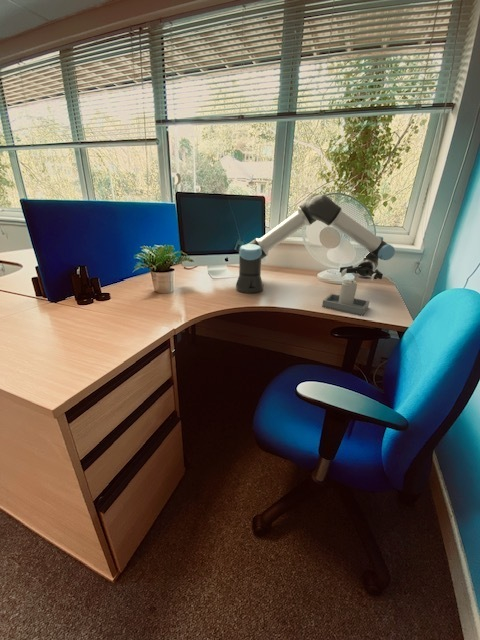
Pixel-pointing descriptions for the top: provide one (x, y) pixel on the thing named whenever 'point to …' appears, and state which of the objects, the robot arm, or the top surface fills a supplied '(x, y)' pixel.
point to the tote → (357, 308)
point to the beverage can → (347, 292)
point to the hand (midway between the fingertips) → (356, 276)
